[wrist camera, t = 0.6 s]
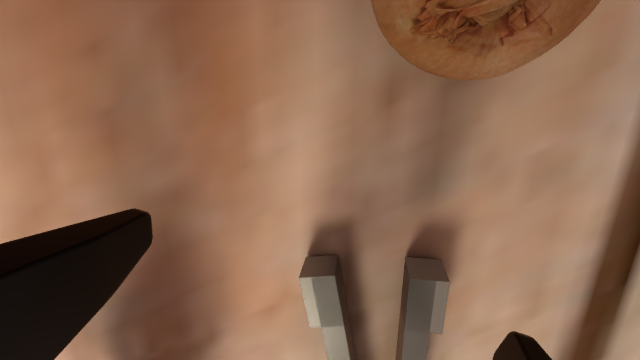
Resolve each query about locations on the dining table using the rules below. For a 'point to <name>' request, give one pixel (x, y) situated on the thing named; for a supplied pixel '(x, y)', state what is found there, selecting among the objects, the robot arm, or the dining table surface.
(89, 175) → the dining table surface
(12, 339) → the robot arm
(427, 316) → the tongs base
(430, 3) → the tan round lump
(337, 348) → the arm
